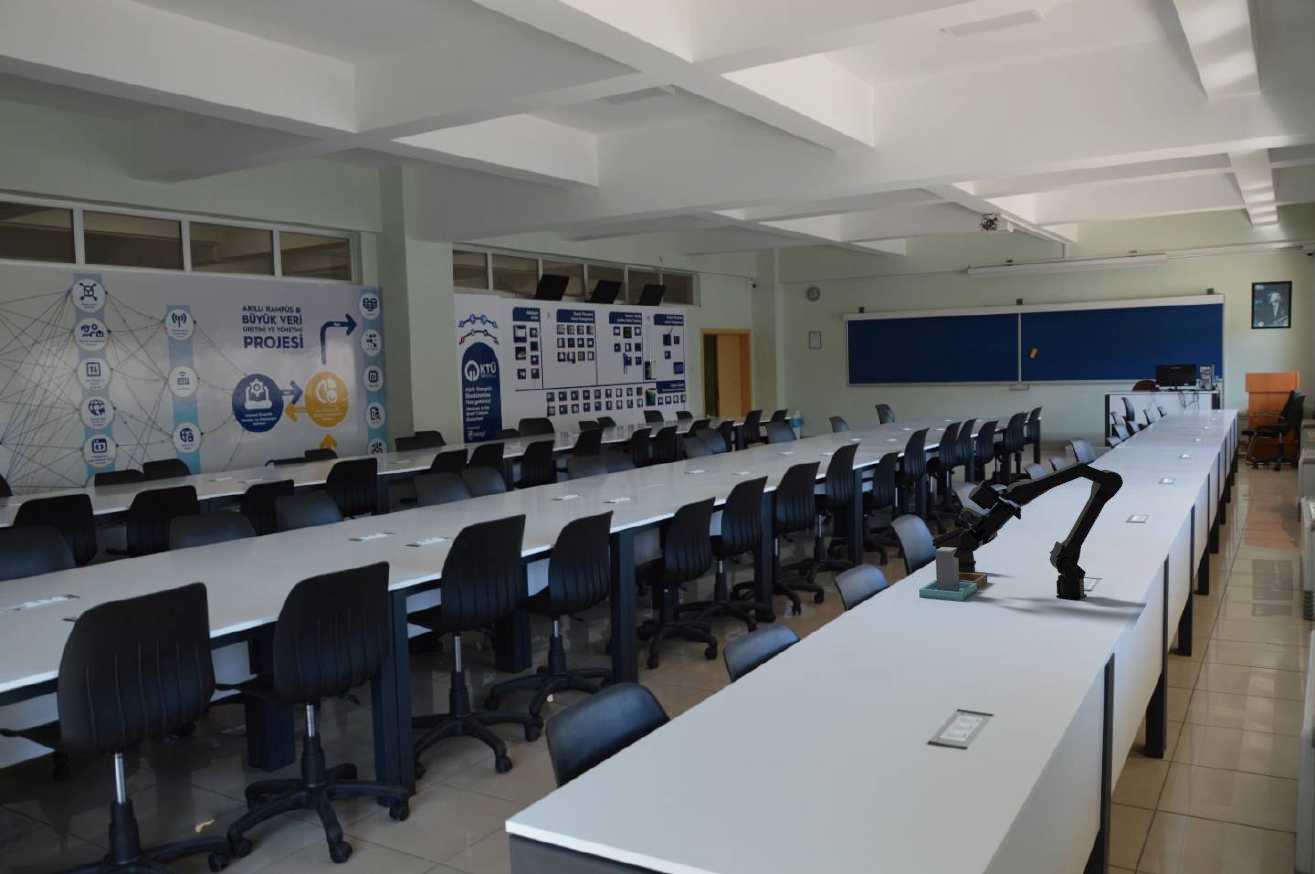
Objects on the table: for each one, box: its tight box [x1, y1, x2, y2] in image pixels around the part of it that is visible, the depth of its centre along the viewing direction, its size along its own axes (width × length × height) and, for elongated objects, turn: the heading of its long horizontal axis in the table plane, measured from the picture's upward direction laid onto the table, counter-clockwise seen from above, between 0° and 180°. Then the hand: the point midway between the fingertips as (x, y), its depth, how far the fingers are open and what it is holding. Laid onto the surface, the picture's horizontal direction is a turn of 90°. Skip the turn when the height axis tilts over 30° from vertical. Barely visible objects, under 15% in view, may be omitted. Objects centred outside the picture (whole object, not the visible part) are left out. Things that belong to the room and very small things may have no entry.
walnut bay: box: [959, 572, 988, 590], centre depth 304 cm, size 11×12×8 cm
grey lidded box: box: [935, 547, 959, 592], centre depth 293 cm, size 5×6×13 cm
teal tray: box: [918, 579, 978, 602], centre depth 294 cm, size 13×14×2 cm
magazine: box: [931, 526, 977, 574], centre depth 324 cm, size 4×13×15 cm, turn 60°
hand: (959, 553), depth 291 cm, fingers open, 9 cm apart
